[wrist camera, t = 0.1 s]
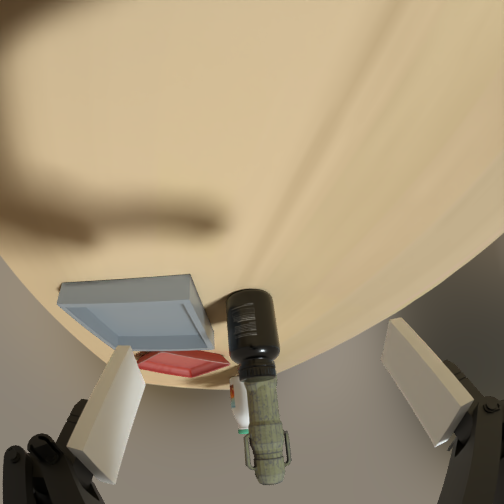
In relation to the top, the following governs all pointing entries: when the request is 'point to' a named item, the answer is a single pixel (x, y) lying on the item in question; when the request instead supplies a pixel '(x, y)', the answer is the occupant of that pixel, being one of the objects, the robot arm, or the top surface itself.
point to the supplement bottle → (252, 334)
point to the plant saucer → (182, 362)
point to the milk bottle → (239, 404)
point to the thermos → (265, 433)
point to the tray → (141, 312)
